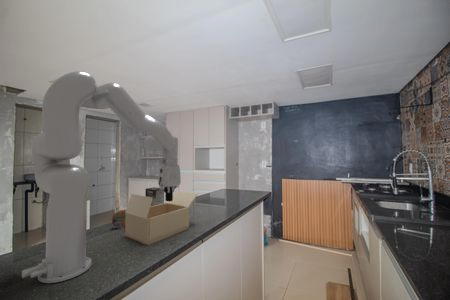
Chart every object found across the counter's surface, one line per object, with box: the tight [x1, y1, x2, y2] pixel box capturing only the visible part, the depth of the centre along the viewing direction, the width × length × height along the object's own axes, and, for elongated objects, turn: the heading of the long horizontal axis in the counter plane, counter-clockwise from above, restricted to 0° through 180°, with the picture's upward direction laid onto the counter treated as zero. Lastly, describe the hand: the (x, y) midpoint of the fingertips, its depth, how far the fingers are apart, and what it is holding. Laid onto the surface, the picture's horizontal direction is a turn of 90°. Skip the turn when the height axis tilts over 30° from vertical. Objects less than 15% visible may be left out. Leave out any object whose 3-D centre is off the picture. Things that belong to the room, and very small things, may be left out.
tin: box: [111, 209, 126, 230], centre depth 99 cm, size 15×3×8 cm, turn 129°
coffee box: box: [144, 186, 165, 206], centre depth 113 cm, size 9×6×16 cm
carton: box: [124, 202, 190, 246], centre depth 91 cm, size 22×17×10 cm
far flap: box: [168, 191, 198, 208], centre depth 103 cm, size 8×14×1 cm
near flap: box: [125, 193, 153, 219], centre depth 83 cm, size 8×14×1 cm
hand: (169, 200), depth 96 cm, fingers closed
